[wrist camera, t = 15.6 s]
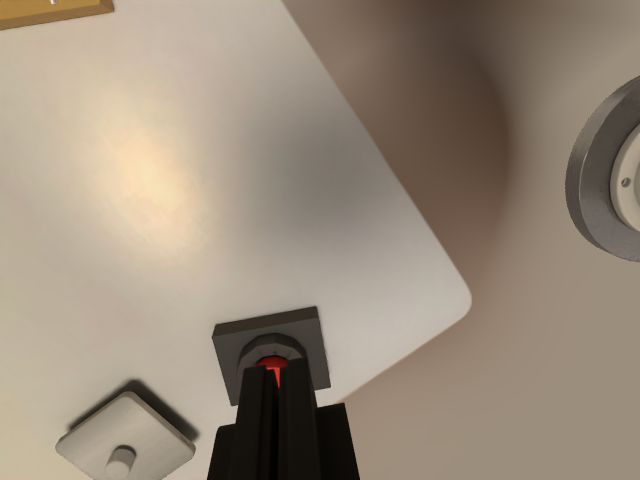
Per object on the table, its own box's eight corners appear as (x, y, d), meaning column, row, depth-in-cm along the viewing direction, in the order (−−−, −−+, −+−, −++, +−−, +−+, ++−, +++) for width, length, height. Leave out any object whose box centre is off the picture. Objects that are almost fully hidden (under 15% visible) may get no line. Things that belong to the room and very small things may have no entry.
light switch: (134, 482, 45) (117, 527, 40) (64, 427, 42) (36, 469, 37) (203, 434, 44) (193, 474, 39) (135, 374, 41) (115, 410, 36)
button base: (316, 306, 40) (319, 327, 36) (328, 374, 43) (333, 400, 39) (215, 324, 40) (208, 348, 36) (233, 392, 42) (228, 420, 39)
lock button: (288, 352, 37) (289, 363, 36) (295, 384, 38) (296, 397, 37) (249, 359, 37) (248, 371, 36) (257, 392, 38) (256, 405, 37)
